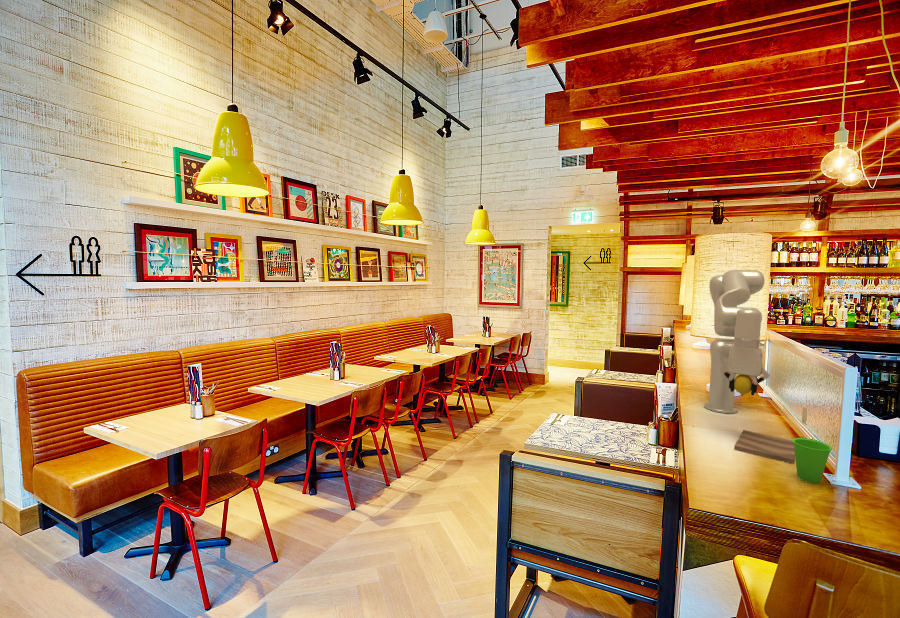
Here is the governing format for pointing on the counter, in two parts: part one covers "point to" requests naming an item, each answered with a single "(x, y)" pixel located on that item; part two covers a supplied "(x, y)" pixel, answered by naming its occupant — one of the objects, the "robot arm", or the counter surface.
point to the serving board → (766, 446)
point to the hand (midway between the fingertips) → (742, 392)
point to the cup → (810, 458)
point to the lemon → (743, 384)
